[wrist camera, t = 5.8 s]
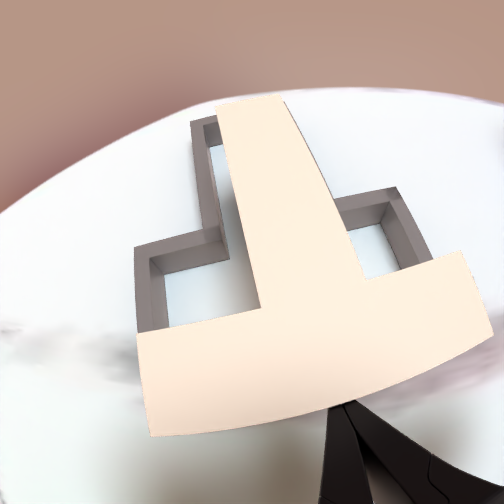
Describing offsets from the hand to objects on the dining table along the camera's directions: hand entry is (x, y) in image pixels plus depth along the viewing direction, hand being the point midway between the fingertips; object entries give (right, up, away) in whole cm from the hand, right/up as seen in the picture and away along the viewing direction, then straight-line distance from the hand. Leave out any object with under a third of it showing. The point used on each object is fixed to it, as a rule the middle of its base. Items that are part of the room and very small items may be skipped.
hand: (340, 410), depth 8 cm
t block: (-1, +3, +10) cm, 10 cm away
